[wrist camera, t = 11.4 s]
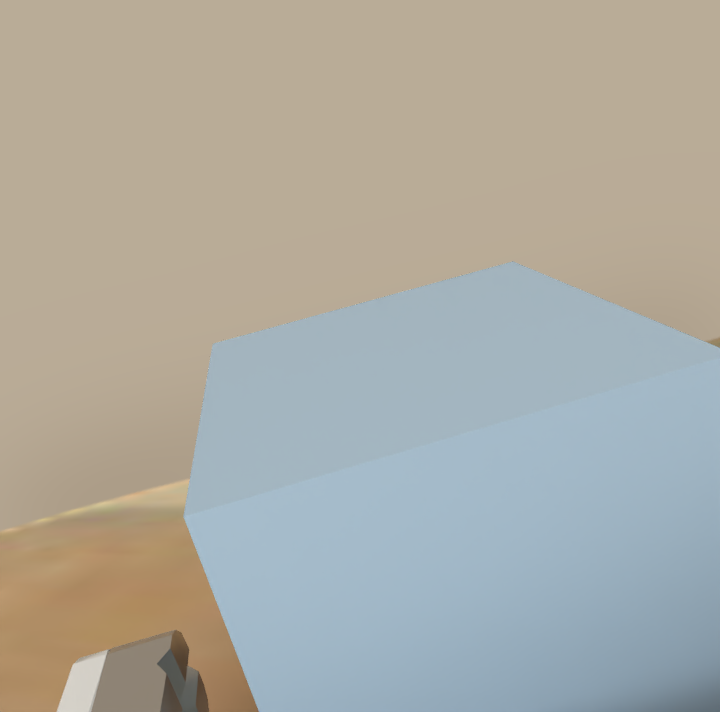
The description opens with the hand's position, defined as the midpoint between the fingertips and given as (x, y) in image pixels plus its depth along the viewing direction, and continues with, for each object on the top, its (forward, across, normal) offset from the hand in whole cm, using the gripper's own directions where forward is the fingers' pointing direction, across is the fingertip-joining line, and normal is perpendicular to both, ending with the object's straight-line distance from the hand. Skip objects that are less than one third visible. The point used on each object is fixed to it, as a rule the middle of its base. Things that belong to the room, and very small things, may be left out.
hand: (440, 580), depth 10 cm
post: (-1, 0, +8) cm, 8 cm away
